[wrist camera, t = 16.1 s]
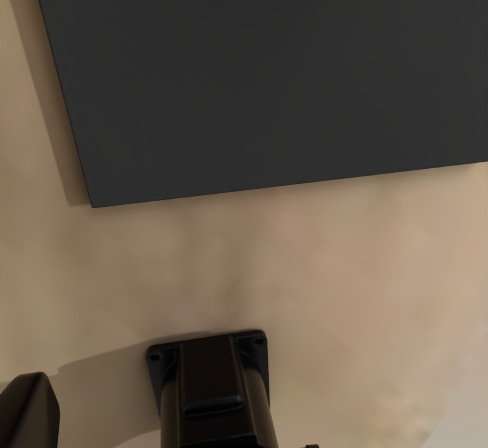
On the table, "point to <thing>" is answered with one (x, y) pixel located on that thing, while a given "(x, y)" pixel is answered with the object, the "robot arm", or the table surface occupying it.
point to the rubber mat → (266, 91)
